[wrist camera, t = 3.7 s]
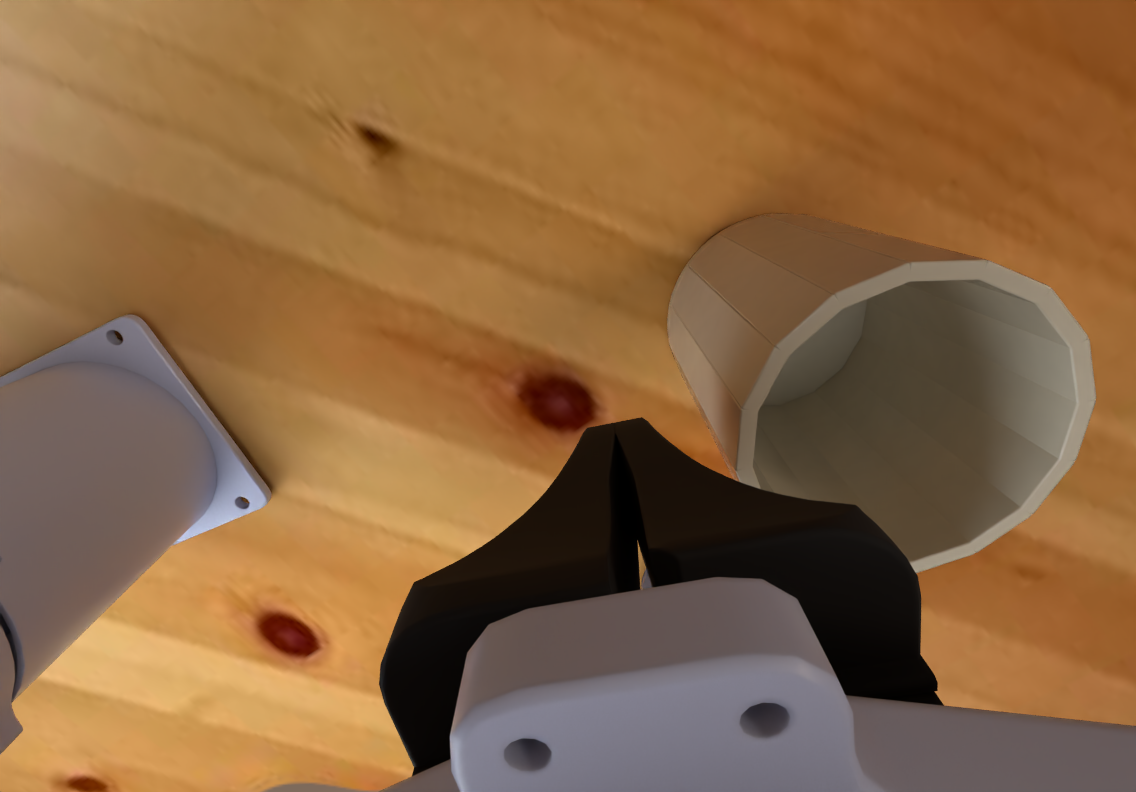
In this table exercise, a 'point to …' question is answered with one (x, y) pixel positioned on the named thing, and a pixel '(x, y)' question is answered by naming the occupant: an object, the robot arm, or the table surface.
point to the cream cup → (883, 377)
